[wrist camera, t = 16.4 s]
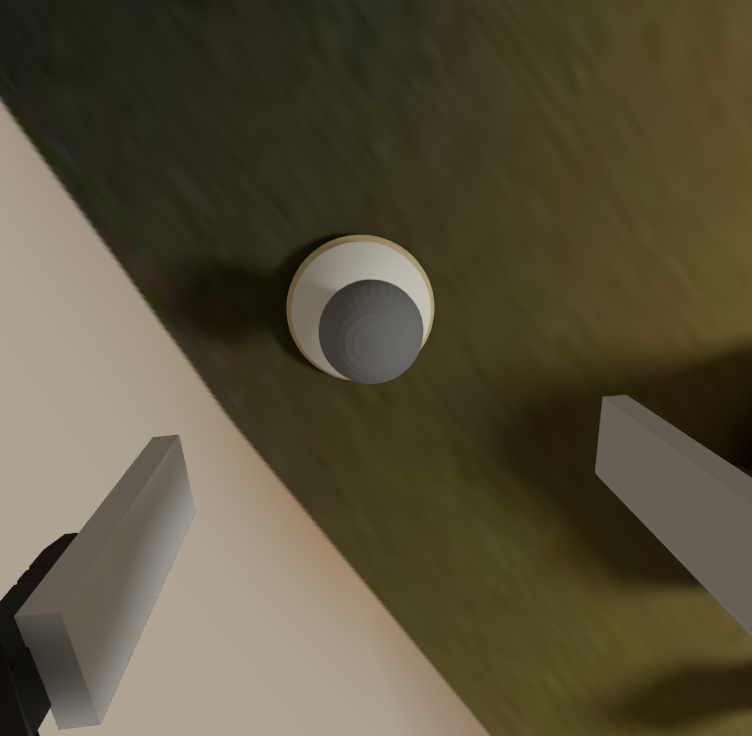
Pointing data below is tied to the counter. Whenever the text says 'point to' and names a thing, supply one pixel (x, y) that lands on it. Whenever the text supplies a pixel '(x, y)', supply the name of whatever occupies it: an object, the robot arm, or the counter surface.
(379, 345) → the light bulb
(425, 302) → the white plate
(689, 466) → the robot arm
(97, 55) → the counter surface
